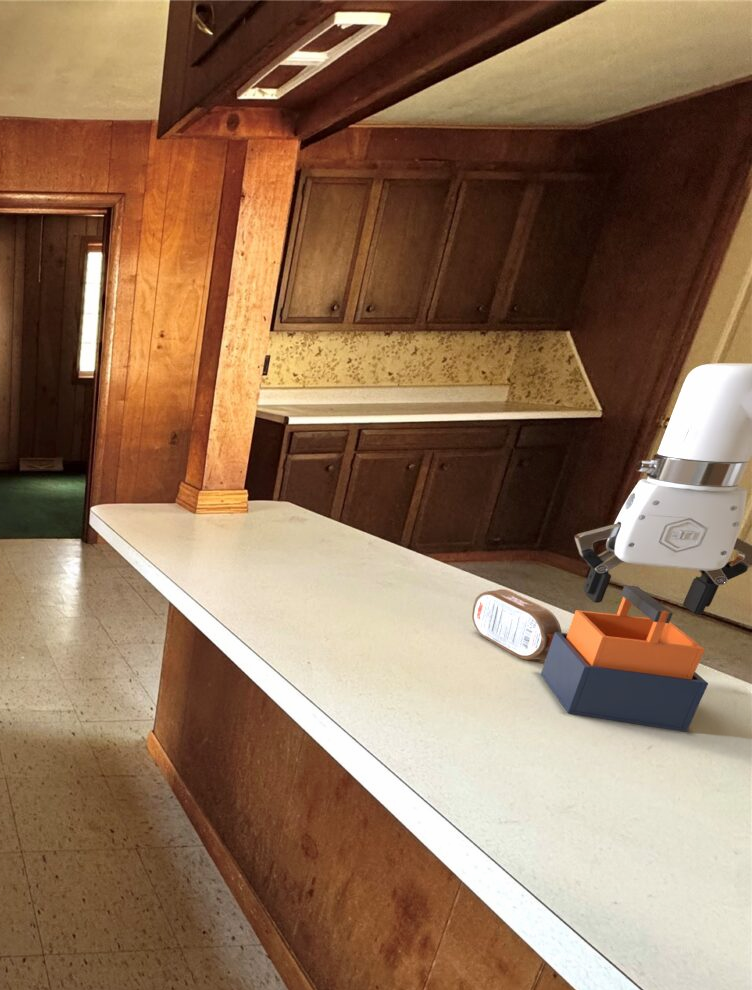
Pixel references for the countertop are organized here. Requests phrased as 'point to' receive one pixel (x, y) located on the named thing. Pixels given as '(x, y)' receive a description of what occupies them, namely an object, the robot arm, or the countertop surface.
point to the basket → (635, 639)
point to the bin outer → (620, 690)
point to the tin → (515, 623)
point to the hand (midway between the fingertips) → (641, 604)
